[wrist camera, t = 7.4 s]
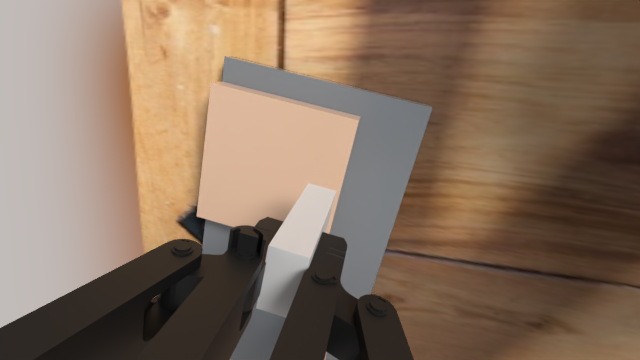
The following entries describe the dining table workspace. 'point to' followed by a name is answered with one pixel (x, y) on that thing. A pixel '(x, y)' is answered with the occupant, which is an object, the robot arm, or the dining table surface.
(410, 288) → the dining table surface
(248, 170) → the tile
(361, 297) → the robot arm
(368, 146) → the slate board
